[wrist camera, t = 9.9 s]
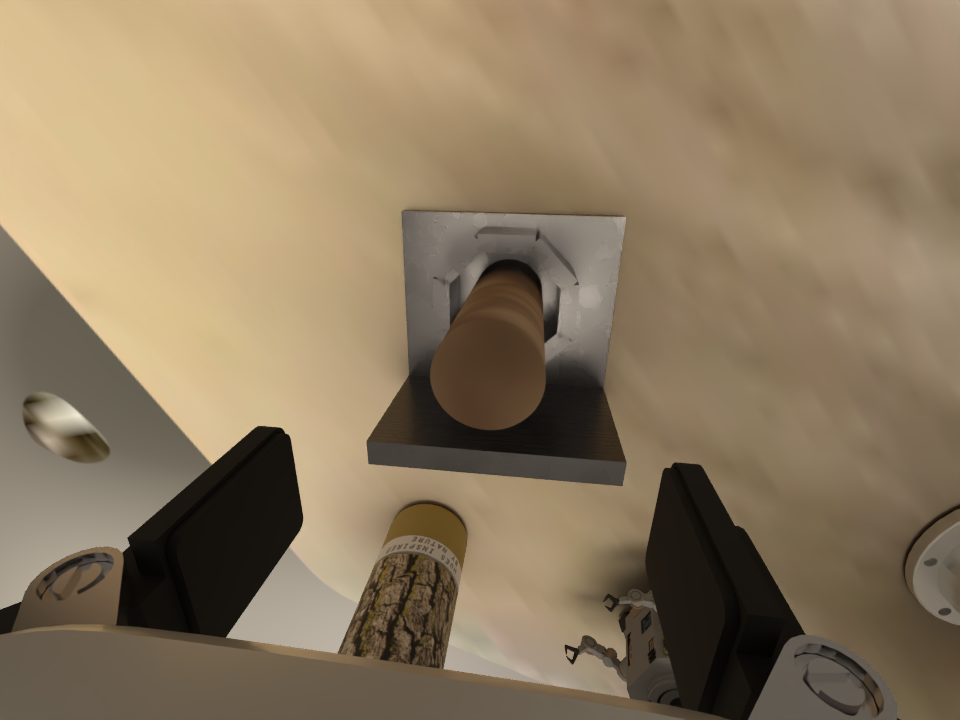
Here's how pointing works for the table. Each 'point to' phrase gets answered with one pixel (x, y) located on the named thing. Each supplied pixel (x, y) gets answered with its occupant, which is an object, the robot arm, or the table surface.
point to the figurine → (638, 652)
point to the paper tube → (411, 591)
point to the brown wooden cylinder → (494, 350)
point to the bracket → (567, 340)
